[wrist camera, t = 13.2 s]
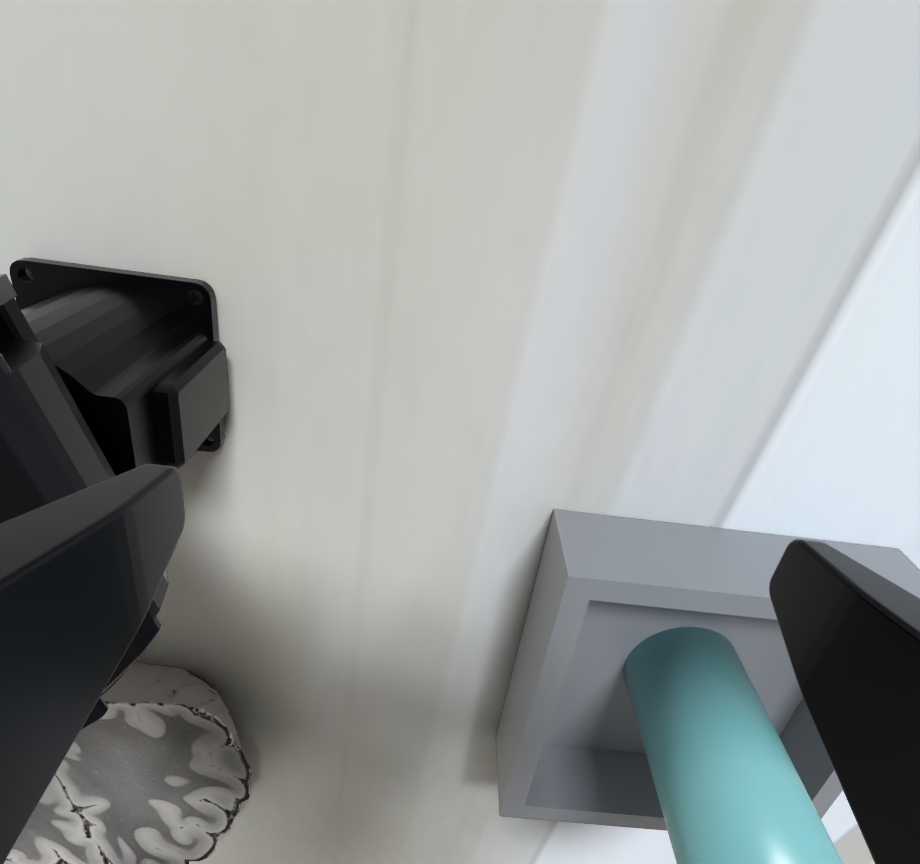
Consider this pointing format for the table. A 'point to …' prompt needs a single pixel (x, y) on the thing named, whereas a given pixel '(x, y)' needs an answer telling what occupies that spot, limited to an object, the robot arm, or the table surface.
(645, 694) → the capped bottle
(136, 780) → the brain slice
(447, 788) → the table surface
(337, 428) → the table surface
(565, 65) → the table surface
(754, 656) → the tray
